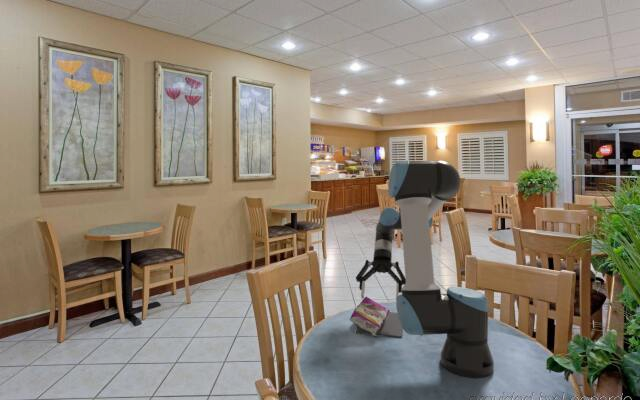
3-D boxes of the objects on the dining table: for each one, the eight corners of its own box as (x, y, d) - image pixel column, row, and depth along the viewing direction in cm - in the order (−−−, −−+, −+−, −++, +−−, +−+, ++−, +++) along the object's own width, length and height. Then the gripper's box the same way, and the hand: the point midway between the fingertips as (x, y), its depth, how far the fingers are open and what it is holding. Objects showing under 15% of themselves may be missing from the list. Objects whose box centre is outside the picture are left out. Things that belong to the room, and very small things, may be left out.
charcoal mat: (404, 314, 151) (404, 313, 151) (402, 337, 130) (402, 336, 130) (363, 311, 156) (363, 310, 156) (355, 333, 135) (355, 331, 135)
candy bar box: (390, 309, 144) (381, 326, 129) (385, 319, 145) (375, 337, 130) (365, 295, 147) (353, 309, 132) (360, 305, 149) (348, 321, 134)
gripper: (412, 258, 155) (412, 305, 142) (355, 256, 161) (349, 300, 148) (412, 248, 149) (412, 296, 136) (353, 246, 156) (347, 291, 143)
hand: (379, 298), depth 142 cm, fingers open, 13 cm apart
